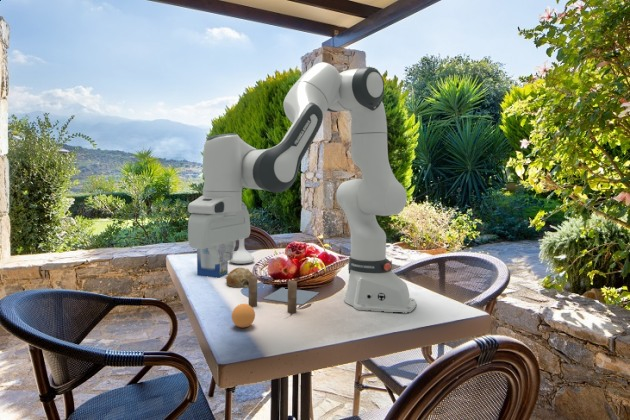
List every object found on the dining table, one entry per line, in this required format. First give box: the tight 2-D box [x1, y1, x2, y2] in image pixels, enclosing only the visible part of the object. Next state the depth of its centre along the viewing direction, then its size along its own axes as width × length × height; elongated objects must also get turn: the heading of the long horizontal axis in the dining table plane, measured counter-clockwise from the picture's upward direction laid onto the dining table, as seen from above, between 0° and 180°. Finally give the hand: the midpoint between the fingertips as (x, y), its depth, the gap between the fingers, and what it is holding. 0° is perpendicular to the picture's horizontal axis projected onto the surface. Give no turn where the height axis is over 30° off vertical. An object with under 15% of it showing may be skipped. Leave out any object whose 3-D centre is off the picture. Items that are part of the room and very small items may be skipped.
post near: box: [286, 279, 298, 314], centre depth 118 cm, size 3×3×9 cm
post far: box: [248, 274, 258, 308], centre depth 123 cm, size 3×3×9 cm
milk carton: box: [196, 244, 229, 279], centre depth 159 cm, size 10×6×20 cm, turn 72°
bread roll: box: [224, 267, 254, 289], centre depth 147 cm, size 10×10×8 cm
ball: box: [231, 303, 256, 328], centre depth 106 cm, size 6×6×6 cm
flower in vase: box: [229, 238, 255, 265], centre depth 181 cm, size 13×11×25 cm
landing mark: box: [262, 287, 320, 306], centre depth 134 cm, size 14×14×1 cm
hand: (222, 261), depth 96 cm, fingers open, 3 cm apart
